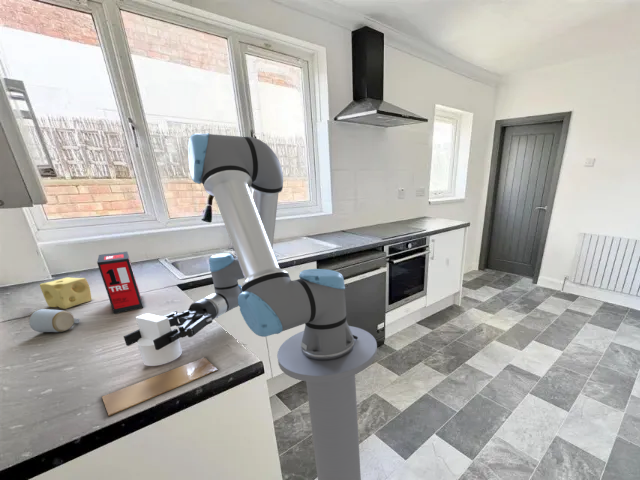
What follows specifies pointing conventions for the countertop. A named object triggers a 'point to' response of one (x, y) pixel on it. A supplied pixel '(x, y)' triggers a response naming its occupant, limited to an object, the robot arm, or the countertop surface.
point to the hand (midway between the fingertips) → (140, 343)
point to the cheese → (66, 292)
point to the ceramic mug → (51, 320)
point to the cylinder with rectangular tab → (150, 331)
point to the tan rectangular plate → (156, 385)
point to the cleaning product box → (119, 281)
